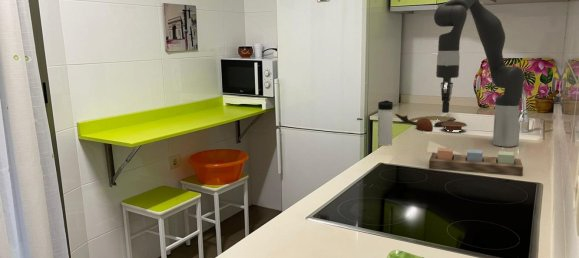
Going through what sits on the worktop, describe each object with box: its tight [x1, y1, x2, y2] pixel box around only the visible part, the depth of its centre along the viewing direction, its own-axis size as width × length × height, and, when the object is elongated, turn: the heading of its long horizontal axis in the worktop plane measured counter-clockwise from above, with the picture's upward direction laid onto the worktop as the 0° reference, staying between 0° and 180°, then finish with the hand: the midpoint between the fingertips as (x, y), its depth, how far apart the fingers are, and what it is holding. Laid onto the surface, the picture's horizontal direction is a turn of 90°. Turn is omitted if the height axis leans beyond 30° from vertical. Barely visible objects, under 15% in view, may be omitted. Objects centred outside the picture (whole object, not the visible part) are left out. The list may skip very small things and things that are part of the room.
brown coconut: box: [441, 120, 468, 131], centre depth 222 cm, size 12×12×6 cm
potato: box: [415, 118, 434, 132], centre depth 227 cm, size 8×12×8 cm
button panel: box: [428, 152, 524, 177], centre depth 161 cm, size 30×12×3 cm, turn 67°
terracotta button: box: [436, 147, 454, 160], centre depth 165 cm, size 5×5×3 cm
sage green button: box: [497, 150, 516, 164], centre depth 157 cm, size 5×5×3 cm
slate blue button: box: [466, 149, 484, 162], centre depth 161 cm, size 5×5×3 cm
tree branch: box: [394, 113, 457, 127], centre depth 244 cm, size 22×30×8 cm
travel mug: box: [377, 100, 394, 147], centre depth 197 cm, size 6×7×20 cm
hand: (445, 112), depth 162 cm, fingers closed
